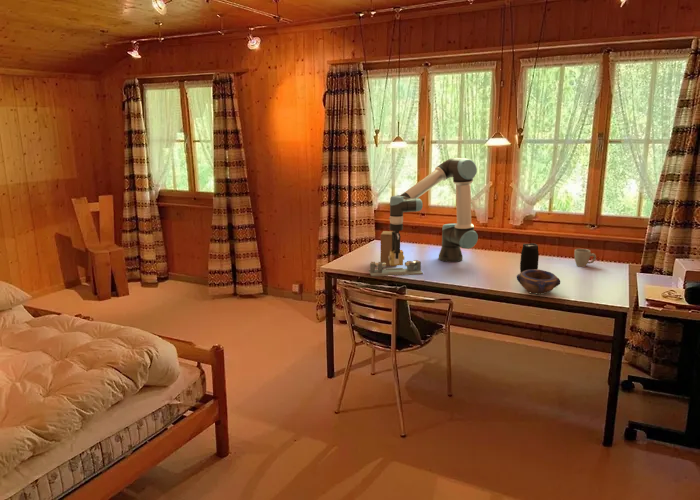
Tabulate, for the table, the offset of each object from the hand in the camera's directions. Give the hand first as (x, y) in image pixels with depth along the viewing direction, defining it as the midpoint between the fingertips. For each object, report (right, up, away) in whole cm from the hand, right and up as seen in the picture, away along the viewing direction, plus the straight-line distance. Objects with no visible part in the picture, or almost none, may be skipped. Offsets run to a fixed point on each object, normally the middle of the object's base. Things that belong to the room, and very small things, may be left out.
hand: (395, 262), depth 302 cm
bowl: (+70, -15, -35) cm, 79 cm away
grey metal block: (+10, -5, +4) cm, 12 cm away
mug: (+115, -3, +13) cm, 116 cm away
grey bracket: (-10, -6, +2) cm, 12 cm away
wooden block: (-2, -2, +21) cm, 21 cm away
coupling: (0, -1, 0) cm, 1 cm away
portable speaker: (+73, -9, -12) cm, 74 cm away
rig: (0, -6, +1) cm, 6 cm away
